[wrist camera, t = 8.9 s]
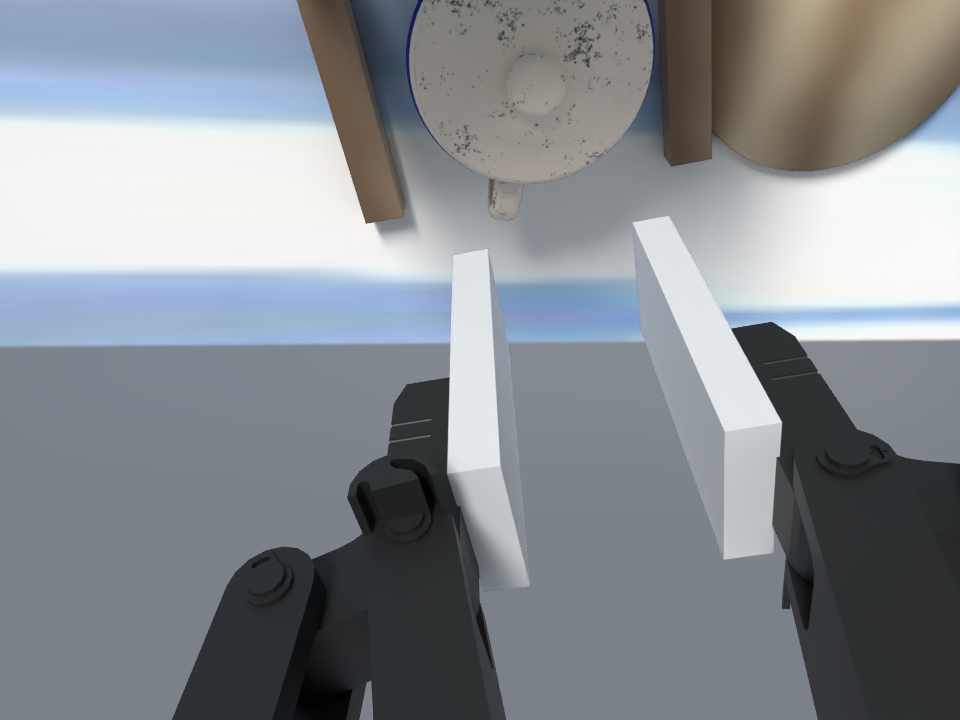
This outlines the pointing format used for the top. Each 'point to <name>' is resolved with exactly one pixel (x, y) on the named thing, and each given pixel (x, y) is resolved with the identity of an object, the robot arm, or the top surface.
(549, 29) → the teacup with lid
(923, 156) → the top surface
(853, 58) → the trivet
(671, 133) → the rails
